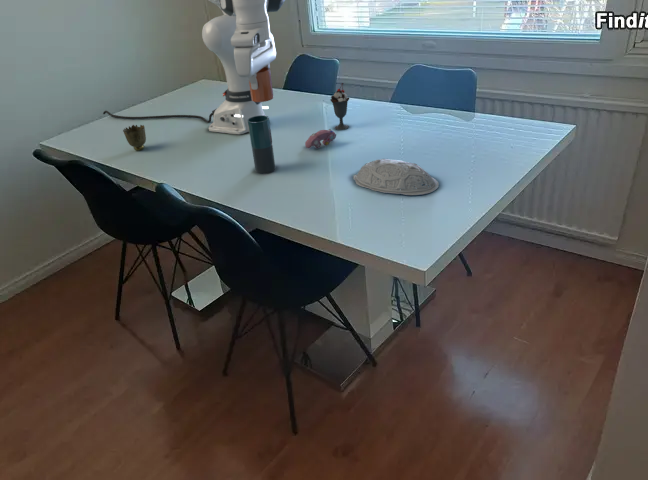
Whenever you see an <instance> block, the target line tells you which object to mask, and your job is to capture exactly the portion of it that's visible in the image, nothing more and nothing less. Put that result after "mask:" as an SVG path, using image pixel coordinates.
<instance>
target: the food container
mask: <svg viewBox="0 0 648 480" xmlns="http://www.w3.org/2000/svg"><path fill="white" fill-rule="evenodd" d="M352 176H353V177H352V179H353V180H354V181H355V184H356V185H357V186H359V187H361V188H366V189H368V190H369V189H370V190H372V191H374V192H380V193H383V194H396V195H400V194H401V195H404V196H405V195H406V196H418V195H421V196H422V195H427V194H431V193H433V192H434V191H436V190H437V189H438V188H439V186H440V185H439V181H438V180H437V179H436V178H434V177H432V176H431V175H430V174H429V172H427V171H426V170H425V169H424V168H423V167H421V166H420V165H418V163H415V162H408V161H404V160H397V159H390V158H381V159H375V160H372V161H369V162H367V163H365V164H364V165H362V166H361V167H360V169H359V170H358V172H357V174H354V175H352Z"/></svg>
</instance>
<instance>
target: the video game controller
mask: <svg viewBox="0 0 648 480" xmlns="http://www.w3.org/2000/svg"><path fill="white" fill-rule="evenodd" d="M336 138H337V134H336V132H335V131H334V130H332V129H331V128H329V129H320V130H318V131H317V132H314V133H312V134H311V135H310V136H309V137H308V139H306V141H305V142H304V145H305V148H306V149H310V148H312V147H315V149H320V148H321V147H322V145H323V146H324V147H327V146H329V145H330V143H331V142H333V141H334V140H335V139H336ZM321 141H322V143H321Z"/></svg>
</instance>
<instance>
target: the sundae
mask: <svg viewBox="0 0 648 480" xmlns="http://www.w3.org/2000/svg"><path fill="white" fill-rule="evenodd" d="M340 85H341V86H340V88H338V89H337V90H336V91H335V92H334V94H333V95H331V96H330V99H329V100H330V102H331V103H332V107H333V111H334V115H335V117H336V118H338V119H339V124H338V125H335V126H334V129H335V130H336V131H344V130H347V129H349V127H350V126H349V125H347V124H344V118H345V117H346V116H347V112H348V104H349V103H348V102H349V100H350V97H348V95H347V93H345V92H346V91H345V90H344V83H343V82H342V83H341V84H340Z"/></svg>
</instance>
